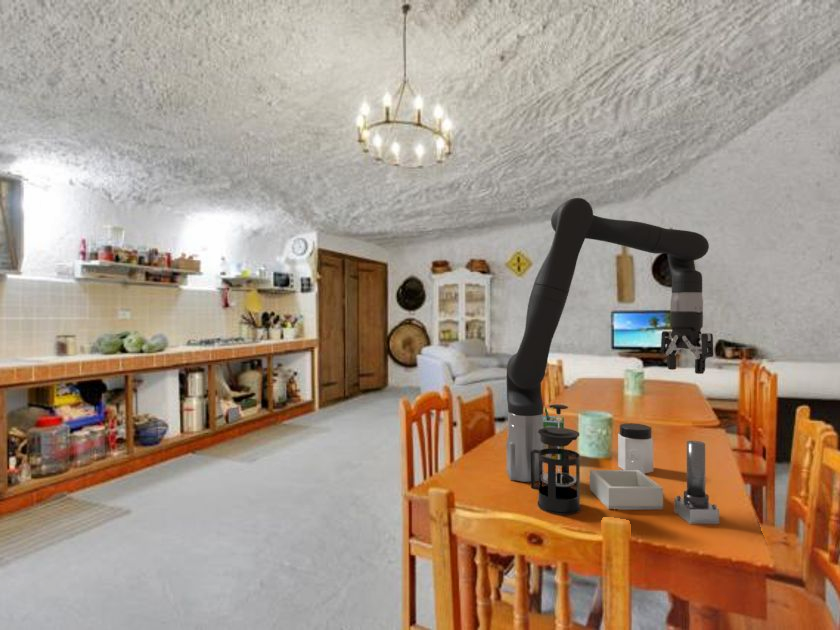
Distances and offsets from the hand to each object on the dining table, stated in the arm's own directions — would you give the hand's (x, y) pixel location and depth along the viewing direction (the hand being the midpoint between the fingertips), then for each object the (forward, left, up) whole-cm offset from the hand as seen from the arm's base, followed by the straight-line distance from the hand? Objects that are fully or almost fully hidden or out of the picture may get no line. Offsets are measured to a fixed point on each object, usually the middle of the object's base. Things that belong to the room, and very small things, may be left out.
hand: (685, 371), depth 123 cm
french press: (-39, -18, -29) cm, 51 cm away
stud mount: (-11, -24, -28) cm, 39 cm away
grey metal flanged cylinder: (-11, -24, -25) cm, 36 cm away
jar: (-10, +7, -29) cm, 31 cm away
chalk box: (-31, +19, -29) cm, 46 cm away
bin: (-22, -14, -28) cm, 38 cm away
